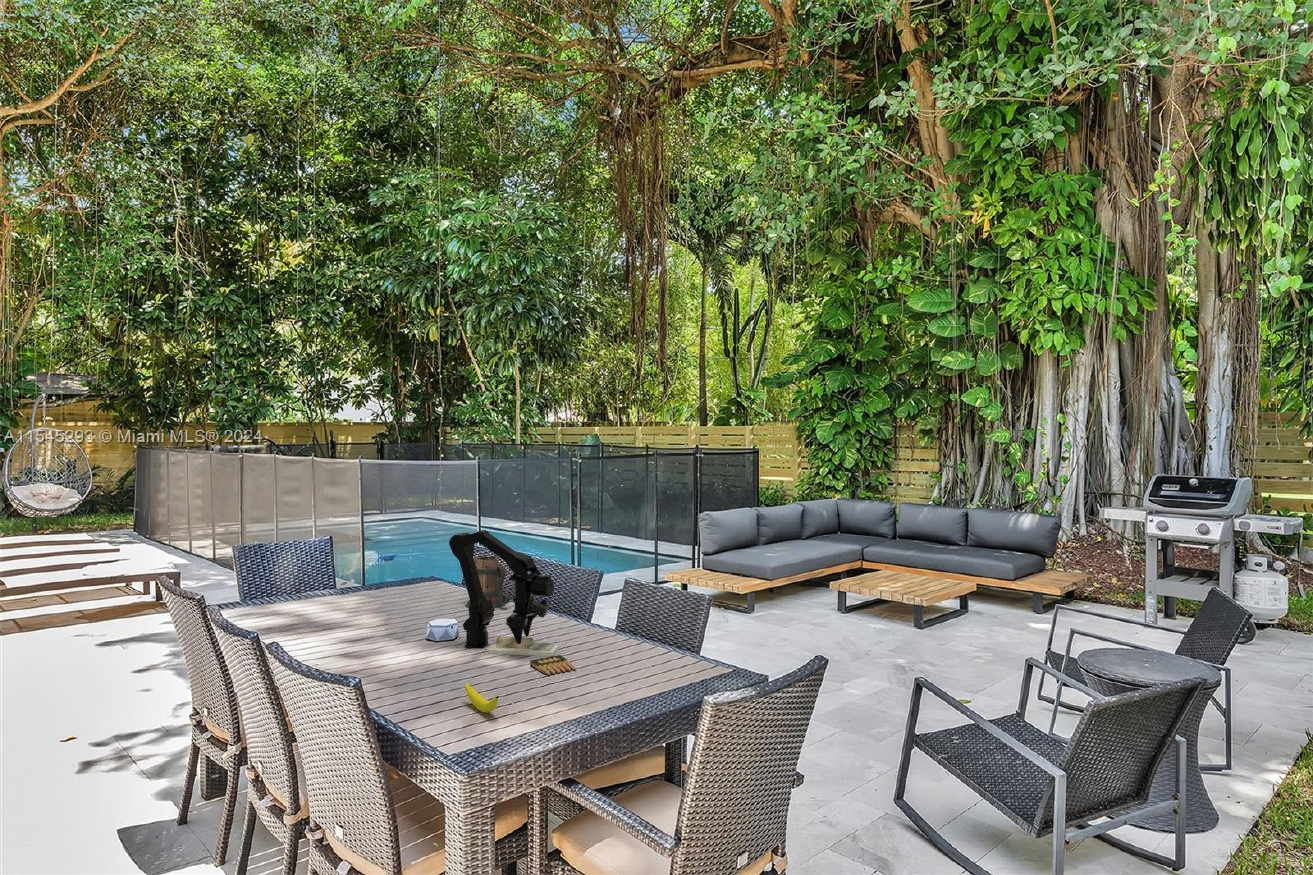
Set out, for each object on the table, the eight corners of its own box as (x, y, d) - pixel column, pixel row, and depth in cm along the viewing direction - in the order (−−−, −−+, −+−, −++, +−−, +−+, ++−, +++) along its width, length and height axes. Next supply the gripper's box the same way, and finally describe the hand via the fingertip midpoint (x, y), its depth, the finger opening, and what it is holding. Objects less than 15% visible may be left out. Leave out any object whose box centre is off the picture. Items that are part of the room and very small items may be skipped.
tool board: (488, 653, 256) (488, 650, 256) (496, 645, 265) (496, 642, 265) (552, 656, 253) (552, 652, 253) (559, 648, 262) (559, 644, 262)
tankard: (457, 605, 324) (457, 558, 324) (489, 598, 337) (489, 553, 337) (491, 614, 309) (492, 564, 309) (524, 606, 322) (524, 559, 322)
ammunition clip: (530, 666, 242) (547, 678, 232) (530, 660, 242) (547, 672, 232) (560, 660, 248) (578, 671, 238) (560, 654, 248) (578, 665, 238)
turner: (494, 649, 257) (494, 640, 257) (500, 644, 263) (500, 635, 263) (550, 651, 255) (550, 642, 255) (554, 645, 261) (554, 637, 261)
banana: (470, 699, 213) (470, 676, 213) (503, 719, 198) (503, 695, 198) (460, 701, 211) (460, 678, 211) (492, 722, 196) (492, 697, 196)
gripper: (539, 601, 248) (539, 648, 249) (553, 588, 267) (553, 633, 267) (505, 599, 250) (505, 647, 250) (522, 588, 268) (522, 632, 268)
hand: (523, 640), depth 259 cm, fingers open, 9 cm apart
